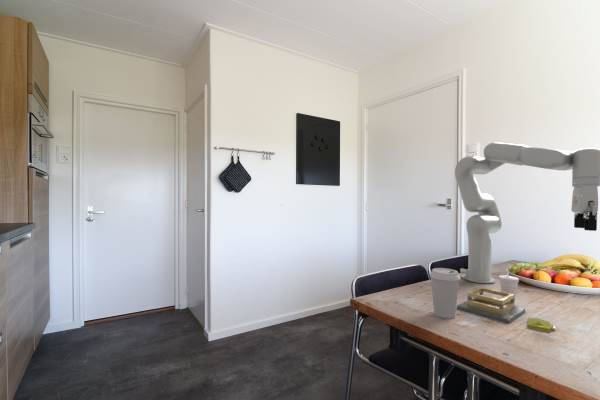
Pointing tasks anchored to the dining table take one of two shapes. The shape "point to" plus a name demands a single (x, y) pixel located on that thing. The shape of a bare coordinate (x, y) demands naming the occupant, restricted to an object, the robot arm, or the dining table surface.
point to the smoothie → (508, 283)
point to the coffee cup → (444, 291)
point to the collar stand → (492, 305)
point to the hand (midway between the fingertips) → (584, 229)
